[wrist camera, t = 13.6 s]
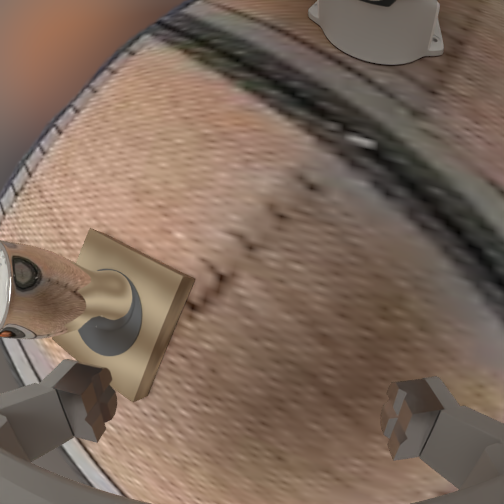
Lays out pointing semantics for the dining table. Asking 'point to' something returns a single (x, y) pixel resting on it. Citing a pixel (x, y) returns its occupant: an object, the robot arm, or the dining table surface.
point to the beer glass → (57, 294)
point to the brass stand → (140, 322)
